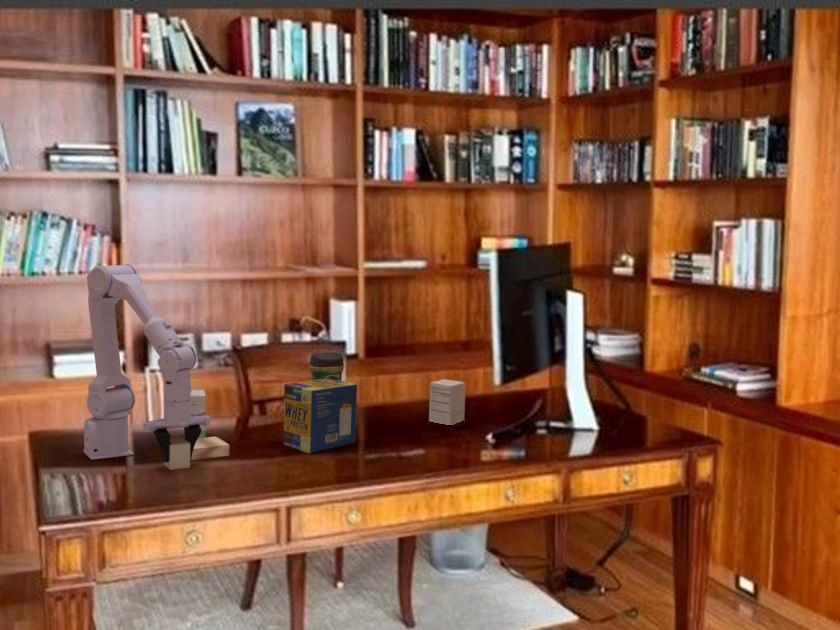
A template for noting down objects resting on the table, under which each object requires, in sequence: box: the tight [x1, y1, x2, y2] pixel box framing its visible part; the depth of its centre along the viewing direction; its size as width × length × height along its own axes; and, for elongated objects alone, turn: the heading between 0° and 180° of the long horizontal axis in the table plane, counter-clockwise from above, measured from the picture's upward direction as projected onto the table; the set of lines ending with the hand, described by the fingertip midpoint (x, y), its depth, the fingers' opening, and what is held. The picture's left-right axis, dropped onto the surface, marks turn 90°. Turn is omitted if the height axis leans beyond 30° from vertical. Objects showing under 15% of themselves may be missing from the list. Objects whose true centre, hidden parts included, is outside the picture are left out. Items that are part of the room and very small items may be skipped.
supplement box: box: [428, 378, 466, 425], centre depth 239 cm, size 7×7×13 cm
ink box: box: [191, 389, 207, 438], centre depth 218 cm, size 9×5×12 cm, turn 18°
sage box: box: [163, 437, 191, 471], centre depth 192 cm, size 4×4×6 cm
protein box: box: [283, 378, 358, 454], centre depth 215 cm, size 10×15×16 cm
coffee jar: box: [309, 351, 345, 381], centre depth 247 cm, size 10×8×19 cm
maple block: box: [190, 436, 230, 461], centre depth 204 cm, size 9×9×3 cm
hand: (177, 460), depth 193 cm, fingers closed on sage box, 4 cm apart
